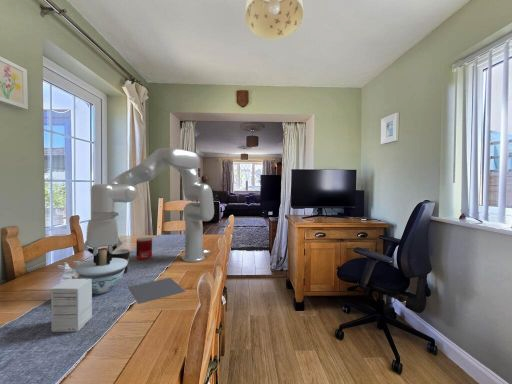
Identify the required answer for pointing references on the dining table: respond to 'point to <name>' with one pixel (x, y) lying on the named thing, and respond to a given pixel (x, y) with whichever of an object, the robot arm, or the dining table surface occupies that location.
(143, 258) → the canned food
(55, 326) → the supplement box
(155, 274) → the dining table surface
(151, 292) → the mat
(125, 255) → the coffee mug
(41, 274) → the dining table surface
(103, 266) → the lid
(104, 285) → the chinaware
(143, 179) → the robot arm
